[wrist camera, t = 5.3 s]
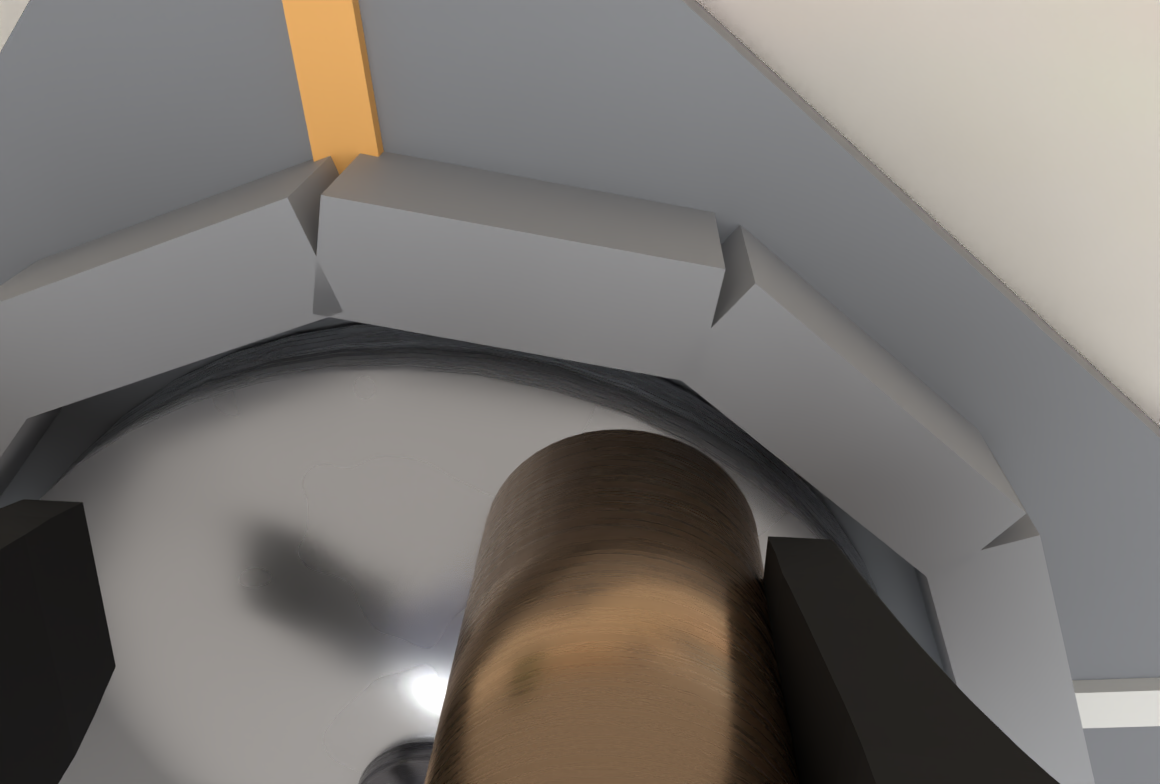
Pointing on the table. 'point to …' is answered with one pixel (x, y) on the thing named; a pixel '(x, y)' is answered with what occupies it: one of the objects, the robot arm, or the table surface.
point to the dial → (435, 573)
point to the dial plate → (629, 128)
